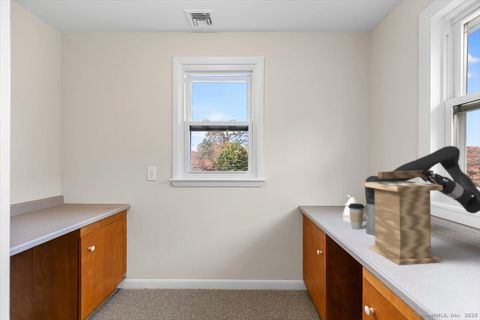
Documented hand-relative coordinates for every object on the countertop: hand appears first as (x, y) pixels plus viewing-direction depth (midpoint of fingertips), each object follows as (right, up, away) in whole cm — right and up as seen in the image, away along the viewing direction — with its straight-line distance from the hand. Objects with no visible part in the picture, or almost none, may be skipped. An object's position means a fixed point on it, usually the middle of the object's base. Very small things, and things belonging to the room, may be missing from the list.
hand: (420, 170), depth 140 cm
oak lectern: (-13, -37, -8) cm, 40 cm away
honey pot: (-6, -38, +67) cm, 77 cm away
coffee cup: (-13, -38, +45) cm, 60 cm away
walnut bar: (-7, -3, -1) cm, 8 cm away
